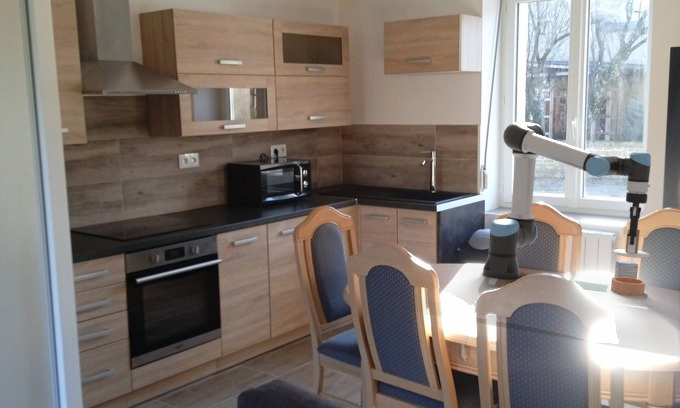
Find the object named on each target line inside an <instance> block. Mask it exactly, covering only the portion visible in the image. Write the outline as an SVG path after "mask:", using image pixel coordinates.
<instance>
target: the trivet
mask: <svg viewBox="0 0 680 408" xmlns="http://www.w3.org/2000/svg"><path fill="white" fill-rule="evenodd" d="M574 282H576V283H577V284H579V285H580V286H581V287H582V288H583V289H582V290H588V291H594V292H600V293H601V292H603V293H606V292H607V290H608V288H609V287H610V286H609V284H602V283H593V282H587V281H579V280H575V281H574Z"/></svg>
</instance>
